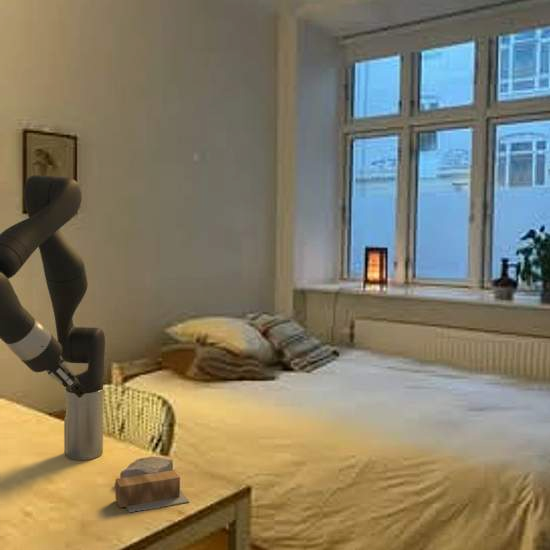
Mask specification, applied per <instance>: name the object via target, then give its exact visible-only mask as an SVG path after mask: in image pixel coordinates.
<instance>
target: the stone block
mask: <svg viewBox="0 0 550 550" xmlns="http://www.w3.org/2000/svg"><path fill="white" fill-rule="evenodd" d="M173 463H174V461H173V458H166V457H161V456H153V455H152V456H148V457H142V458H138V459H135V460H134V461H133V462H131V463H129V465H127V466H126V468H125V469H123V470H122V471H121V472H120V473H119V474H120V476H119V478H126V477H132V476H139V475H145V474H152V473H159V472H165V471H172V470H173V469H174V464H173Z"/></svg>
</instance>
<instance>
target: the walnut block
mask: <svg viewBox="0 0 550 550" xmlns="http://www.w3.org/2000/svg"><path fill="white" fill-rule="evenodd" d="M180 484H181V479H180V476H179V475H178V473H177V472H176V471H175V470H172V471H165V472H159V473H152V474H145V475H139V476H132V477H126V478H120V477H119V478H115V501H116V503H117V505H118V506H119V508H126V506H132V505H138V504H144V503H150V502H155V501H161V500H167V499H173V498H179V497H180V491H181V487H180V486H181V485H180Z"/></svg>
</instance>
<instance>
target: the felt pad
mask: <svg viewBox="0 0 550 550" xmlns="http://www.w3.org/2000/svg"><path fill="white" fill-rule="evenodd" d="M183 503H184V504H188V503H190V500H189V499H188V497H187V496H186V495H185V494H184V493H183V492H182V491H181V490H180V497H179V498H173V499H167V500H161V501H155V502H150V503H144V504H138V505H132V506H126V507H125V508H126V510H127V511H129V512H128V513H129V514H131V513H130V512H133V513H136V512H135V511H138V512H142V511H141V510H144V511H148V510H147V509H150V510H154V508H155V509H161V508H165V507H164V506H167V507H171V505H172V506H177V504H178V505H183ZM160 507H161V508H160Z"/></svg>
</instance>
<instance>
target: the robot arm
mask: <svg viewBox="0 0 550 550" xmlns="http://www.w3.org/2000/svg"><path fill="white" fill-rule="evenodd" d="M23 199H24V205H25V210H26V213H27V216H28V218H25V219H23V220H21V221H19V222H17V223H15V224H13V225H11V226H9V227H7V229H5V230H3V231H2V232H1V233H0V340H1V341H3V343H5V345H6V346H7V347H8V349H9V350H10V351H11V352H12V353H13V354H14V356H16V357H17V358H18V359H19V360H20V361H21V362H22V363H24V365H26V367H28V368H29V370H31V371H32V372H34V373H42V372H46V373H47V375H48V376H50V377H51V378H52V379H53V380H56V381H57V383H58V384H60V385H61V386H63V387H65V417H64V418H63V420H64V421H63V423H64V425H63V427H64V432H63V433H64V436H63V438H64V439H63V442H64V444H63V445H64V447H63V448H64V449H63V450H64V454H65V456H66V458H68V459H70V460H74V461H86V460H92V459H95V458H99V457H100V456H102V455H103V454H104V453H103V452H104V448H103V447H104V376H105V374H104V373H105V371H104V370H105V354H106V353H105V352H106V337H105V333H104V330H103V329H102V328H100V327H90V326H89V327H87V326H81V327H80V326H78V327H77V326H75V325H74V319H73V317H74V315H75V312H76V311H77V309H78V307H79V305H80V304H81V302H82V301H83V299H84V297H85V295H86V293H87V290H88V286H89V285H88V278H87V272H86V267H85V266H86V265H85V263H84V261H83V258H82V257H81V255H80V253H79V252H78V251H77V250H76V248H75V247H74V246H73V245H72V244H71V243H70V242H69V241H68V239H67V238H66V237H65V236H64V235H63V233H62V232H61V231H60V229H61V228H62V227H63V226H64V225H66V224H67V223H68V222H69V221H71V220H72V219H73V218H74V217H75V215H76V214H77V213H78V211H79V210H80V207H81V204H82V190H81V186H80V184H79V183H78V182H77V181H76V180H75V179H73V178H68V177H65V176H64V177H63V176H55V175H41V174H36V175H32V176H30V177H28V178H27V179H26V181H25V183H24V187H23ZM37 249H38V250H39V253H40V259H41V262H42V268H43V273H44V278H45V283H46V286H47V289H48V294H49V296H50V302H51V306H52V310H53V315H54V321H55V322H54V323H55V330H56V336H57V337H56V338H55V336H53V335H52V333H50V332H49V330H48V329H47V328H46V327H45V326H44V325H43V324H42V323H40V321H38V320H37V319H36V318H35V317H34V316H33V315H31V314H30V312H29V311H28V310H27V309H26V308H25V307H24V306H23V305H22V304H21V302H20V301H21V300H20V299H19V297H18V295H17V293H16V291H15V289H14V287H13V285H12V282H11V281H10V279H11V278H12V277H14V276H15V275H16V274H17V273H18V272H19V271H20V270H21V269H22V267H23V266H24V265H25V264H26V262H27V261H28V260H29V258H30V257H31V256H32V255H33V253H34V252H35V251H36V250H37ZM68 363H70V364H88V365H87V368H86V370H85V371H83V372H81V373H78V374H75V373H74V371H72V369H71V368H70V367H69V364H68Z"/></svg>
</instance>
